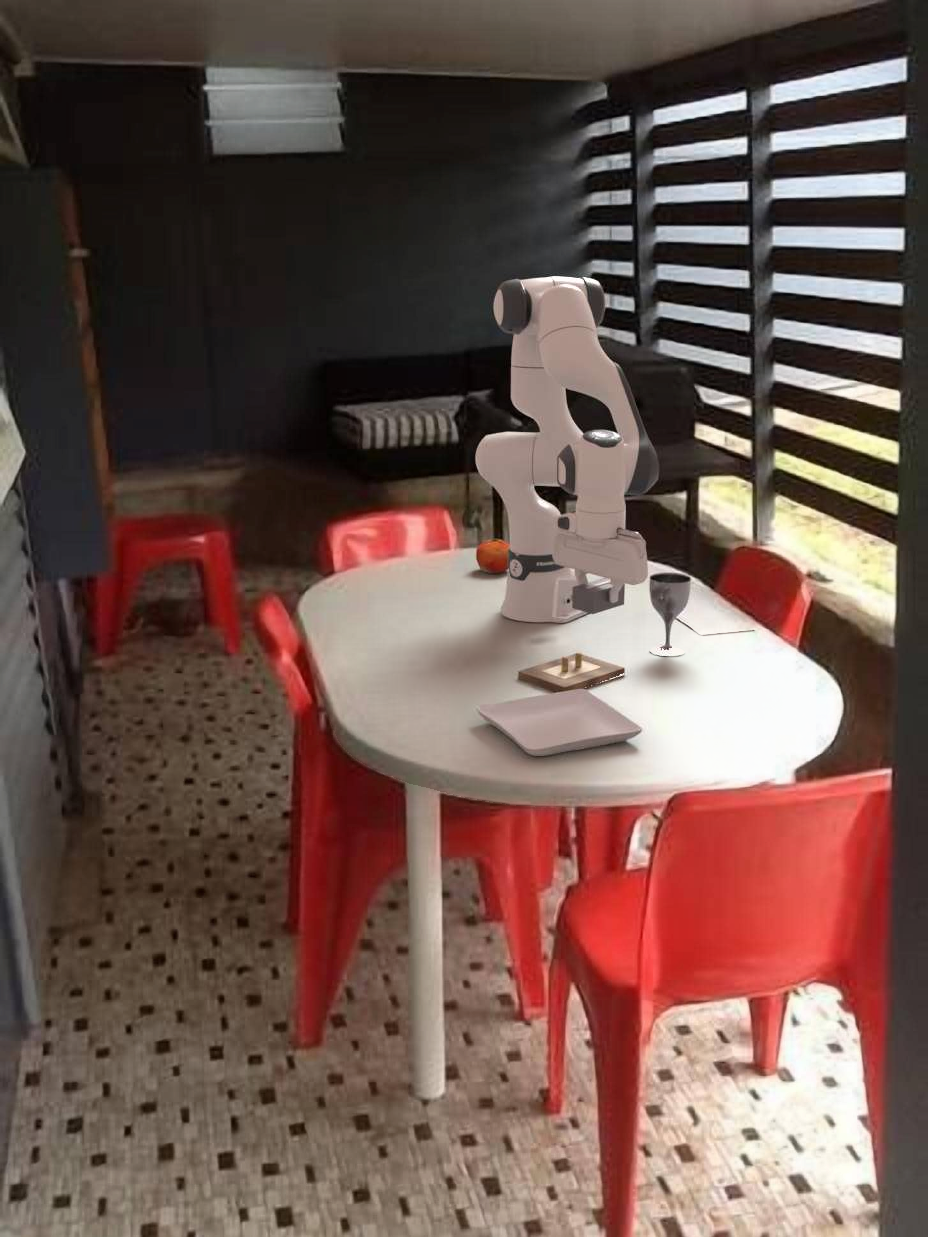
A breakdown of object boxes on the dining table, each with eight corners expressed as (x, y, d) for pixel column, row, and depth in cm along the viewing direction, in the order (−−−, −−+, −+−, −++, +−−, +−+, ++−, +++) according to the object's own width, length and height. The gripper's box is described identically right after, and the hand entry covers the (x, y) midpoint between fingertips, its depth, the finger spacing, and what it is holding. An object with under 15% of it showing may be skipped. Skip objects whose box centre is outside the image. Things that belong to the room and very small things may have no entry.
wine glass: (695, 651, 269) (699, 577, 265) (672, 660, 264) (675, 585, 260) (662, 642, 275) (665, 570, 270) (638, 651, 269) (641, 578, 265)
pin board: (577, 660, 264) (578, 639, 263) (624, 675, 256) (625, 654, 254) (518, 678, 254) (518, 657, 253) (564, 695, 245) (565, 673, 244)
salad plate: (528, 768, 215) (529, 747, 214) (473, 723, 233) (473, 704, 232) (645, 747, 223) (646, 727, 222) (582, 705, 241) (583, 687, 240)
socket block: (603, 598, 252) (604, 576, 251) (624, 604, 249) (624, 582, 248) (572, 608, 247) (572, 586, 246) (592, 614, 243) (593, 591, 242)
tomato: (500, 578, 323) (501, 545, 320) (468, 572, 327) (468, 540, 325) (521, 569, 330) (521, 537, 328) (488, 564, 335) (488, 532, 332)
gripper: (657, 530, 238) (654, 606, 242) (571, 510, 252) (569, 582, 256) (633, 537, 234) (630, 614, 238) (547, 516, 248) (546, 589, 252)
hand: (598, 597), depth 247 cm, fingers closed on socket block, 5 cm apart
